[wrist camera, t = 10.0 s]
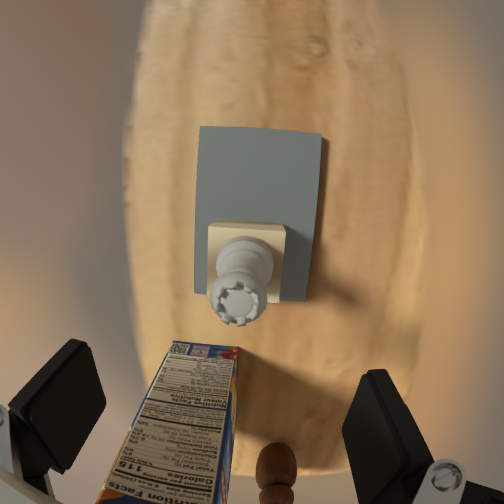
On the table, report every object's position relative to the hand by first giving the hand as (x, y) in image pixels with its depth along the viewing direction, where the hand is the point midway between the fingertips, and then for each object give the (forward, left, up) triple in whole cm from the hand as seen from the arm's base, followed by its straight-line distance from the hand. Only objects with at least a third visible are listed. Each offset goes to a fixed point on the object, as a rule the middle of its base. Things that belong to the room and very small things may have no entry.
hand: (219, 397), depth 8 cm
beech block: (0, 0, -19) cm, 19 cm away
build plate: (-3, 0, -20) cm, 20 cm away
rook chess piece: (0, 0, -15) cm, 15 cm away
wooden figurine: (+31, +6, -20) cm, 38 cm away
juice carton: (+17, -4, -20) cm, 27 cm away
